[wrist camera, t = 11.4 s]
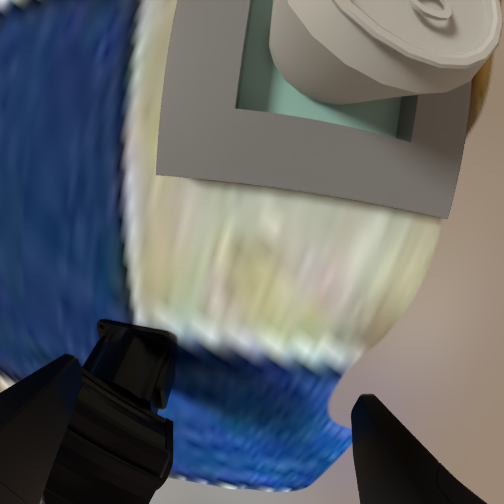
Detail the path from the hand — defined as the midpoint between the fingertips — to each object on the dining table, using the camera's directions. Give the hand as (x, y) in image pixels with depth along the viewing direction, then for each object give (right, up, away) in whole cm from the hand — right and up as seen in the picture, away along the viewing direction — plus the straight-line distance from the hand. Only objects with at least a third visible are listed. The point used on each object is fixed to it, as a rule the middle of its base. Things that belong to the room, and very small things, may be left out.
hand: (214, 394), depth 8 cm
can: (+6, +16, +7) cm, 19 cm away
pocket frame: (+6, +16, +7) cm, 19 cm away
